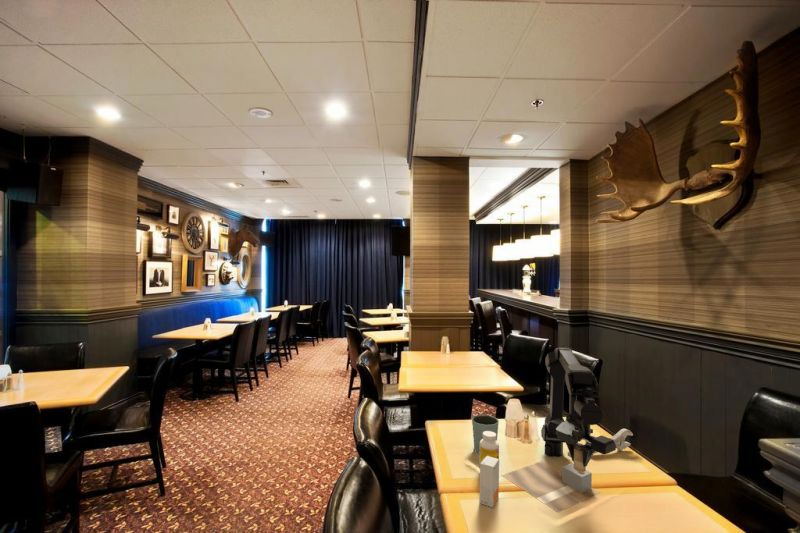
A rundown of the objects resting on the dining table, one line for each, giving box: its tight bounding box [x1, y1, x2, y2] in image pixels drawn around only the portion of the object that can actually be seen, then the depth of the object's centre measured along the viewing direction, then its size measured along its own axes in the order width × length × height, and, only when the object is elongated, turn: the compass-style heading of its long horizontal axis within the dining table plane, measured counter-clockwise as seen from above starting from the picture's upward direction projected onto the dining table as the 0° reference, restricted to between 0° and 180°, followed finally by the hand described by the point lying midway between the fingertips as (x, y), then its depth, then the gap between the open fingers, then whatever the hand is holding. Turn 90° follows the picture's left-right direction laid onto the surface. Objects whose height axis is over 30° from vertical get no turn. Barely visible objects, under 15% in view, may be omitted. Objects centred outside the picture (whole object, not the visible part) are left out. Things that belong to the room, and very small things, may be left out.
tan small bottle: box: [573, 442, 587, 472], centre depth 112 cm, size 3×3×7 cm
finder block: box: [561, 462, 593, 493], centre depth 121 cm, size 5×7×5 cm
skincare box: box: [479, 456, 500, 508], centre depth 114 cm, size 6×4×12 cm
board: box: [501, 460, 601, 513], centre depth 122 cm, size 20×22×1 cm
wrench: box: [567, 428, 634, 458], centre depth 145 cm, size 8×2×30 cm
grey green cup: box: [471, 414, 499, 454], centre depth 146 cm, size 10×10×12 cm
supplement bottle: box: [478, 431, 500, 469], centre depth 131 cm, size 7×7×13 cm
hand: (579, 463), depth 112 cm, fingers closed on tan small bottle, 3 cm apart
